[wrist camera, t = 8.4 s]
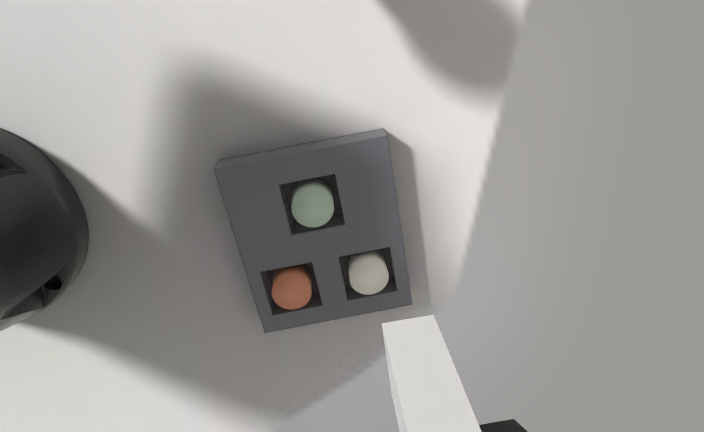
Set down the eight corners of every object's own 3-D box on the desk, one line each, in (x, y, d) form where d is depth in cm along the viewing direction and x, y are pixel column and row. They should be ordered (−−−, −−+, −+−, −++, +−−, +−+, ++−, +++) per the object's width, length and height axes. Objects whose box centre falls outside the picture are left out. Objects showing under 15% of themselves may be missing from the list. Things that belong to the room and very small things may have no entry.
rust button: (278, 297, 39) (276, 312, 37) (269, 266, 38) (267, 280, 36) (314, 290, 39) (315, 305, 37) (306, 258, 38) (306, 272, 36)
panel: (266, 318, 40) (264, 333, 39) (219, 160, 35) (213, 168, 33) (407, 290, 40) (412, 304, 39) (383, 128, 35) (387, 135, 33)
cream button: (351, 283, 39) (353, 297, 37) (344, 251, 38) (346, 264, 36) (387, 276, 39) (391, 290, 37) (381, 244, 38) (385, 257, 36)
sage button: (297, 219, 37) (296, 231, 35) (288, 182, 35) (287, 192, 33) (336, 211, 37) (337, 222, 35) (328, 174, 35) (329, 184, 33)
